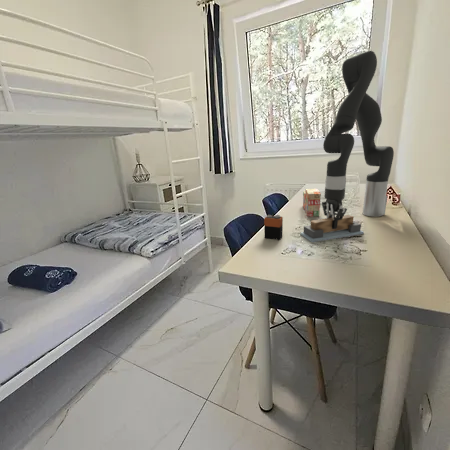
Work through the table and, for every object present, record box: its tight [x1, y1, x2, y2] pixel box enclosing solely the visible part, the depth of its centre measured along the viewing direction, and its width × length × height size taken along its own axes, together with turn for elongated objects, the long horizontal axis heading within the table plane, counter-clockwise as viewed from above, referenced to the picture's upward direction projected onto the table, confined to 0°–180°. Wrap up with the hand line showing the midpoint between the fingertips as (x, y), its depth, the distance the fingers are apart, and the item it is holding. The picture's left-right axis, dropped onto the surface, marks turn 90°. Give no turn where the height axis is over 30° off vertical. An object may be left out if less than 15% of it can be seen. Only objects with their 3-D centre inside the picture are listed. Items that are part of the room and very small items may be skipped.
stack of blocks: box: [302, 188, 322, 217], centre depth 140 cm, size 21×6×12 cm, turn 170°
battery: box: [263, 214, 284, 241], centre depth 106 cm, size 4×7×10 cm, turn 63°
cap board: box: [300, 220, 364, 243], centre depth 107 cm, size 24×9×4 cm, turn 103°
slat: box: [310, 214, 354, 233], centre depth 106 cm, size 18×3×5 cm, turn 103°
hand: (331, 227), depth 106 cm, fingers closed on slat, 2 cm apart
